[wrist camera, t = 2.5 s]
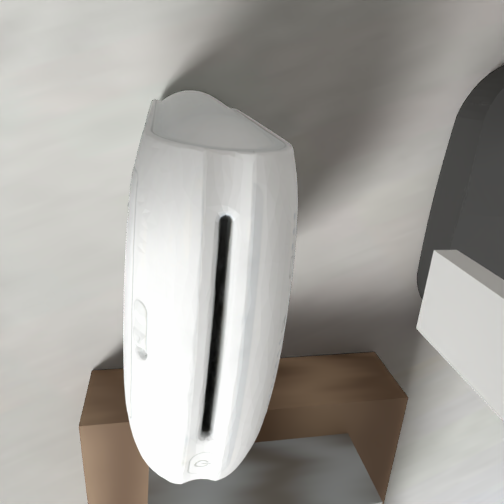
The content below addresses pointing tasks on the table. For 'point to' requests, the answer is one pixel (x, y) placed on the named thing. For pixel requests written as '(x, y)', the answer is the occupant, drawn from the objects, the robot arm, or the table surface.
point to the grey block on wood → (265, 440)
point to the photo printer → (205, 283)
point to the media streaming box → (471, 184)
